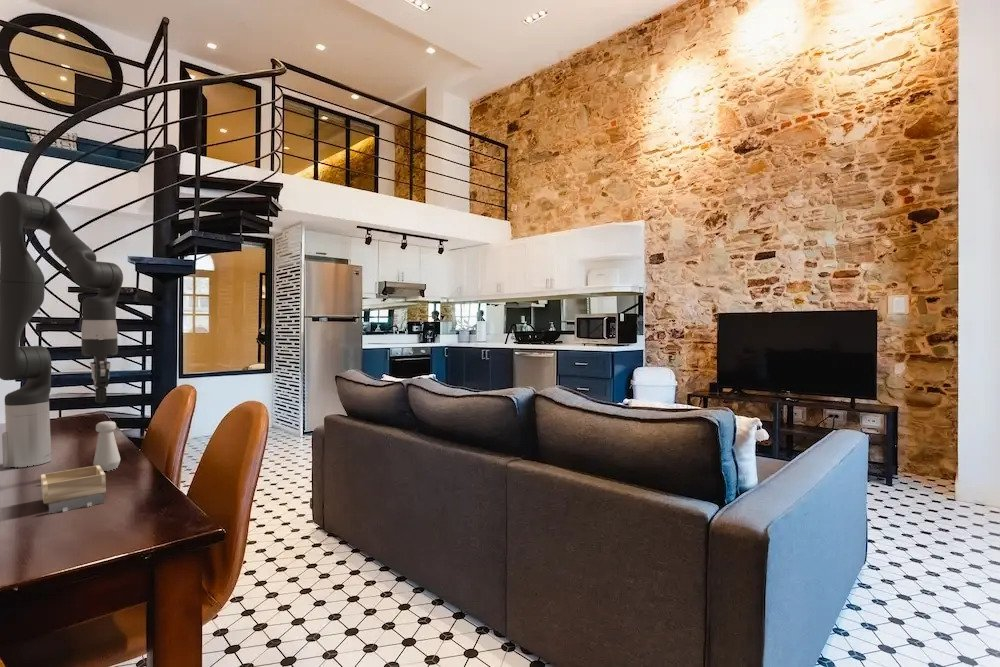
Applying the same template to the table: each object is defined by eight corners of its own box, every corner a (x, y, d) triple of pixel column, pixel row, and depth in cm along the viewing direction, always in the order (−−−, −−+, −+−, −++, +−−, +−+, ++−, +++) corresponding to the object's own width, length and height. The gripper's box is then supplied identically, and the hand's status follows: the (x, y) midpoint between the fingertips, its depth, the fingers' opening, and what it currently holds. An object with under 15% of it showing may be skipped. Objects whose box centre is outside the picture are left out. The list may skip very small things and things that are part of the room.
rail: (42, 484, 126) (42, 476, 126) (89, 476, 132) (89, 468, 132) (49, 514, 106) (49, 505, 106) (104, 503, 112) (103, 494, 112)
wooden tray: (44, 510, 108) (43, 484, 107) (41, 498, 115) (40, 474, 115) (106, 497, 115) (105, 474, 115) (100, 487, 122) (99, 465, 122)
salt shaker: (126, 467, 141) (124, 419, 140) (108, 473, 135) (106, 424, 135) (106, 466, 141) (105, 419, 141) (88, 472, 136) (86, 423, 135)
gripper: (79, 336, 138) (81, 400, 139) (83, 338, 128) (85, 407, 129) (114, 336, 143) (115, 397, 144) (120, 337, 133) (121, 404, 134)
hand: (101, 402), depth 136 cm, fingers closed
